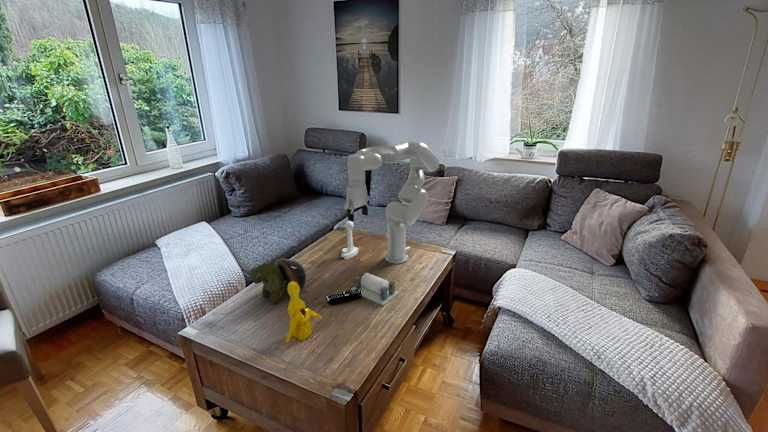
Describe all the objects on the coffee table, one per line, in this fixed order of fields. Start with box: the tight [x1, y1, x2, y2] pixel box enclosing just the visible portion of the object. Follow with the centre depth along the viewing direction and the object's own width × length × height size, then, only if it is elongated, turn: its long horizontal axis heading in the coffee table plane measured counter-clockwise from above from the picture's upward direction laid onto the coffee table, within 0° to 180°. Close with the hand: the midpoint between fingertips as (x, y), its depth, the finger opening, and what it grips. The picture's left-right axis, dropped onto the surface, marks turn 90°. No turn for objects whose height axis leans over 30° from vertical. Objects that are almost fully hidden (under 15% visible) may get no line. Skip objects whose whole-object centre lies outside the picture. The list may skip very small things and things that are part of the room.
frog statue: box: [250, 258, 307, 305], centre depth 163 cm, size 19×16×25 cm
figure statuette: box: [285, 281, 323, 343], centre depth 138 cm, size 18×8×22 cm, turn 144°
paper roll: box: [360, 272, 390, 294], centre depth 166 cm, size 7×15×7 cm, turn 52°
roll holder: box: [350, 271, 400, 307], centre depth 167 cm, size 11×19×6 cm, turn 52°
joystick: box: [340, 220, 359, 260], centre depth 200 cm, size 11×8×20 cm
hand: (358, 217), depth 172 cm, fingers open, 9 cm apart
